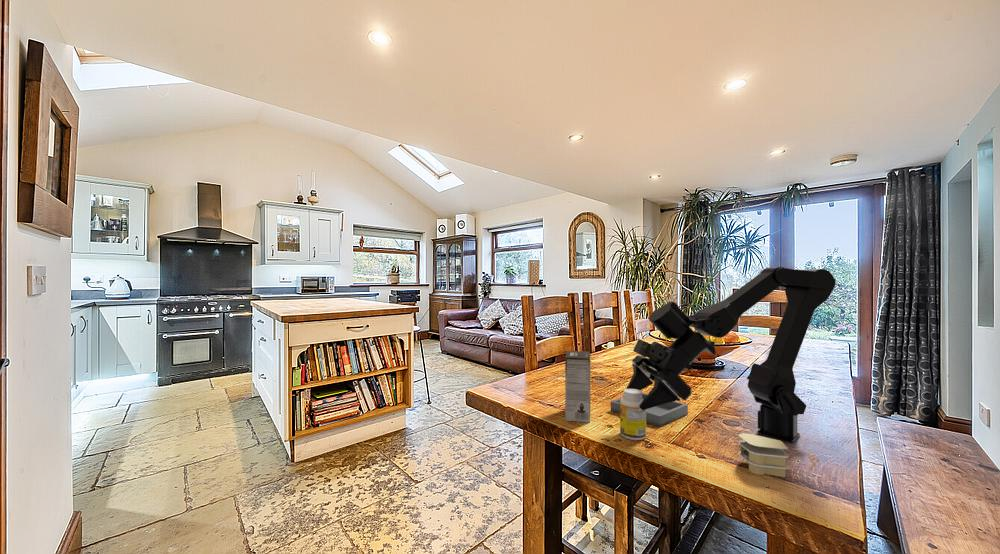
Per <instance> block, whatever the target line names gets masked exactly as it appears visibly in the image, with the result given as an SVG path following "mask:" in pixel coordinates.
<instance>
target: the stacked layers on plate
mask: <svg viewBox="0 0 1000 554" xmlns="http://www.w3.org/2000/svg"><path fill="white" fill-rule="evenodd" d="M738 436H739V437H740V438H741V439H742V440H738V442H737V444H739V445H740V451H738V452H737V453H738V455H739V456H740V457H741V458H742V459H743V460H745V461H746V462H747V463H748V471H750V472H751V473H753V474H756V475H759V476H760V475H762V476H763V475H769V476H775V477H782V478H786V470H789V466H788V465H787V464H786V459H789V455H788V454H787V453H786V452H785V450H789V447H788V446H786V444H784V441H783V440H779V439H776V438H772V437H767V436H763V435H757V434H752V433H746V432H743V433H740V434H738Z"/></svg>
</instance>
